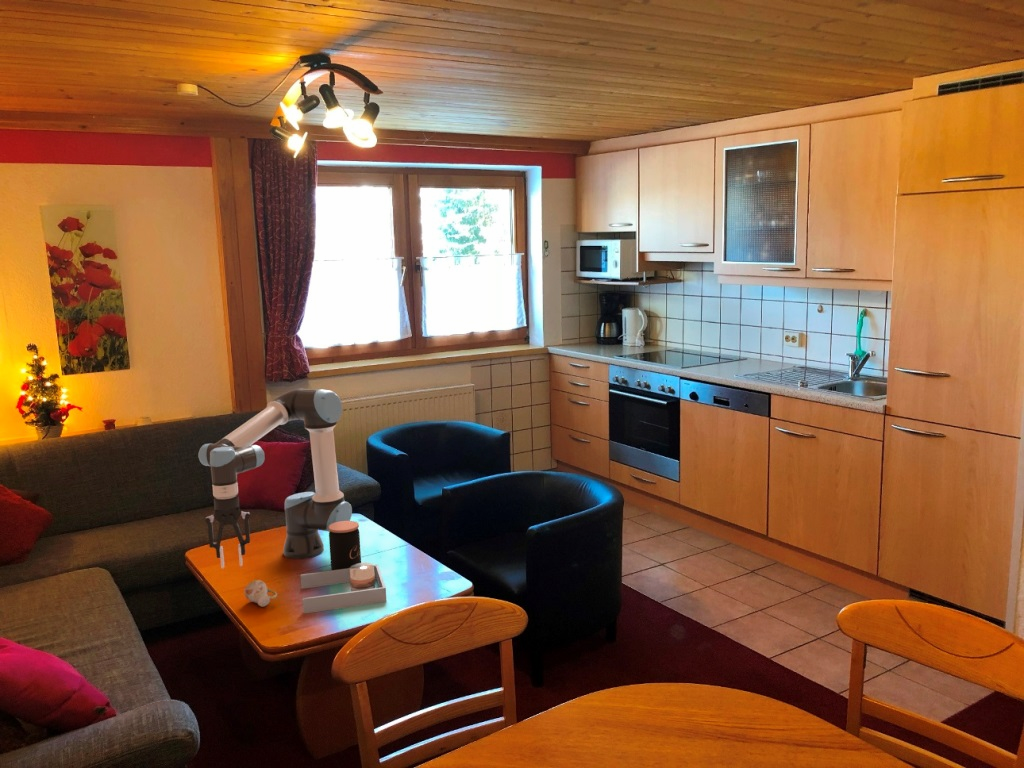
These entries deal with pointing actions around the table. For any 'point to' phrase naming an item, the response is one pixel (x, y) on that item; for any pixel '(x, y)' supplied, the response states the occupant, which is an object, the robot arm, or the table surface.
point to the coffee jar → (344, 544)
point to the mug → (259, 593)
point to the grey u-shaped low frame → (341, 598)
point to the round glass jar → (362, 576)
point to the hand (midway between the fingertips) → (232, 565)
